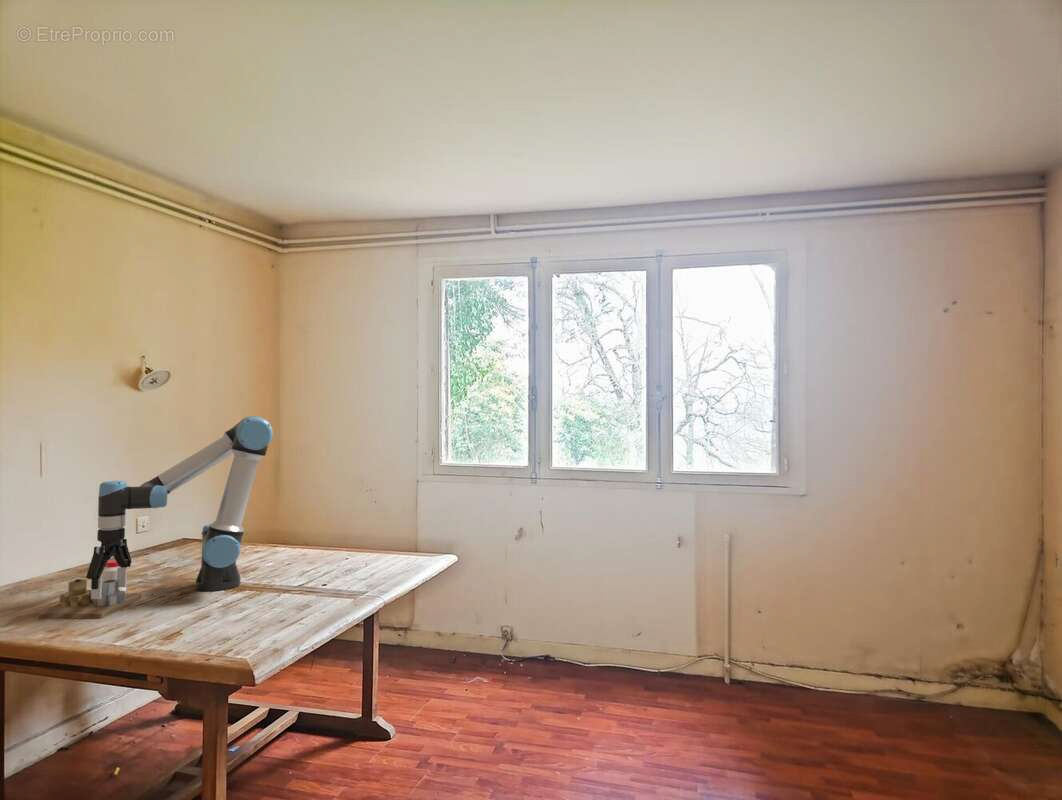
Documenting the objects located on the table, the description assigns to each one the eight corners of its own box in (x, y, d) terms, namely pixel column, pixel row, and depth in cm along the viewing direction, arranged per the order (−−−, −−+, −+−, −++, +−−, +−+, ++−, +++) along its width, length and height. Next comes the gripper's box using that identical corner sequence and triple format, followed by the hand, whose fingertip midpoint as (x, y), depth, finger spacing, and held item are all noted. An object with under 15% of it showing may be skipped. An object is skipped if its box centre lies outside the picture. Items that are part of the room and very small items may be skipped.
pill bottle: (96, 595, 215) (97, 564, 215) (105, 589, 222) (106, 559, 223) (121, 594, 217) (122, 563, 217) (129, 588, 224) (130, 558, 225)
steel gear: (130, 598, 207) (131, 577, 207) (114, 606, 198) (115, 585, 199) (103, 598, 207) (104, 577, 207) (86, 606, 198) (86, 585, 198)
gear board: (141, 597, 214) (142, 571, 214) (101, 618, 192) (102, 588, 192) (84, 597, 212) (85, 571, 213) (37, 618, 190) (38, 588, 191)
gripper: (122, 521, 215) (120, 582, 215) (74, 535, 190) (71, 604, 190) (144, 521, 216) (142, 582, 215) (99, 535, 191) (97, 604, 190)
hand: (109, 592), depth 203 cm, fingers open, 13 cm apart
